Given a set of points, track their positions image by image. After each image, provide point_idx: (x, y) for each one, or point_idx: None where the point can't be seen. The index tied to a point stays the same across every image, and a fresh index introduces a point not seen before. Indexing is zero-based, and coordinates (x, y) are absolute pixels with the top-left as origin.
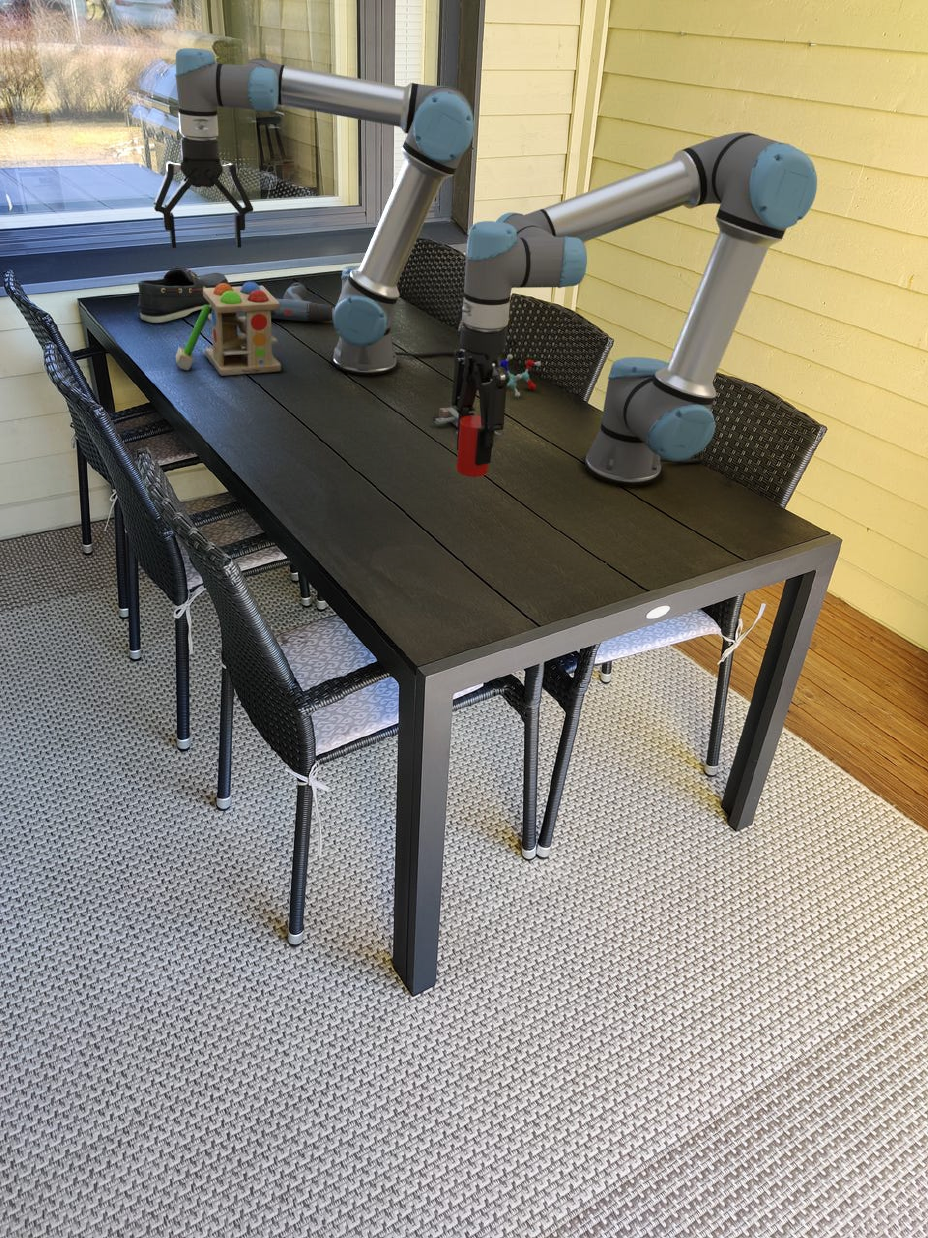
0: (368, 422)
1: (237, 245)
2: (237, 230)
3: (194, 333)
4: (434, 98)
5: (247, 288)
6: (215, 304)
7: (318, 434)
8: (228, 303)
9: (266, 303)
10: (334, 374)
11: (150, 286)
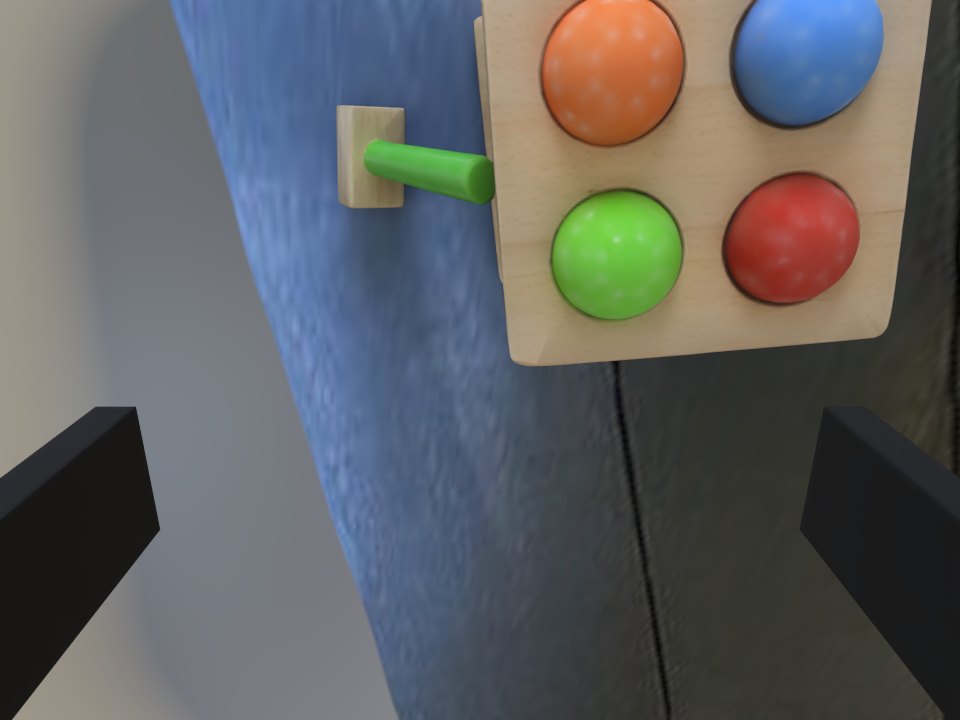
0: (834, 661)
1: (808, 534)
2: (912, 663)
3: (407, 184)
4: None
5: (780, 101)
6: (508, 327)
7: (674, 703)
8: (587, 313)
9: (808, 330)
10: (917, 305)
11: None
